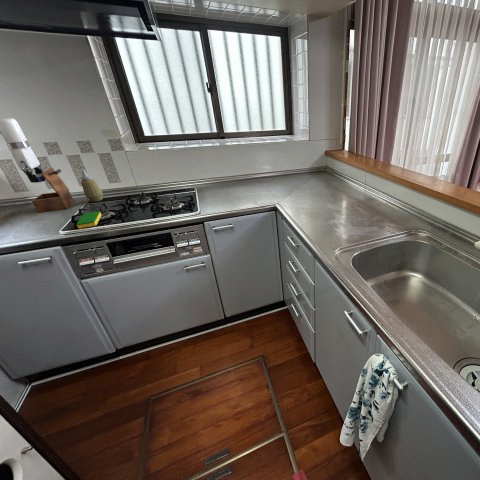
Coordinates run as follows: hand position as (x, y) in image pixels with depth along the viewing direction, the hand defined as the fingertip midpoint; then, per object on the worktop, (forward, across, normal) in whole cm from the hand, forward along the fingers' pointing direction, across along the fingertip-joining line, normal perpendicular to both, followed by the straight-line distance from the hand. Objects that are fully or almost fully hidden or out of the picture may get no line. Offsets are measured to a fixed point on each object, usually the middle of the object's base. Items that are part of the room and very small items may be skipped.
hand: (38, 179), depth 142 cm
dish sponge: (+16, +31, +25) cm, 43 cm away
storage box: (+16, 0, +1) cm, 16 cm away
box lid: (+2, 0, +6) cm, 7 cm away
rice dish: (+1, 0, 0) cm, 1 cm away
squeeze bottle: (+16, -3, +19) cm, 25 cm away
